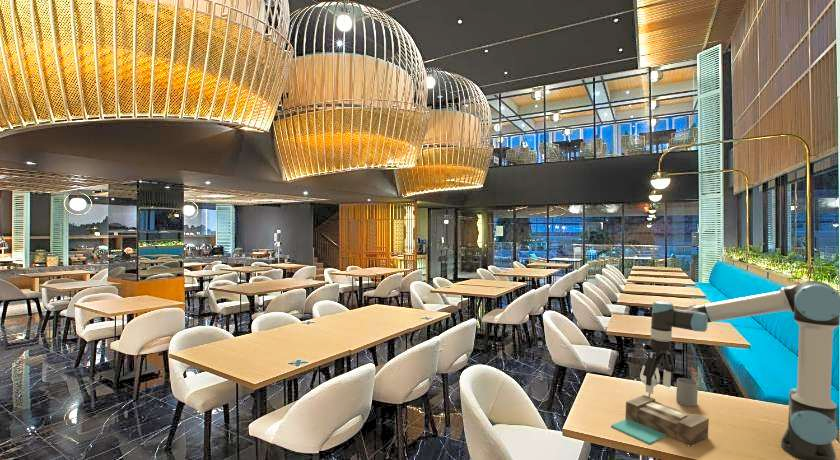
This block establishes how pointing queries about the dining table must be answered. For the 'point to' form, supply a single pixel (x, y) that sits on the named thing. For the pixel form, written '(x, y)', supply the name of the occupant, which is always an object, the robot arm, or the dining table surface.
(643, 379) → the wineglass
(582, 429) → the dining table surface
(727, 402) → the dining table surface
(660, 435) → the mat
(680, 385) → the cup
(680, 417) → the tile
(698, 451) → the dining table surface
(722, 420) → the dining table surface
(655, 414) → the cradle
